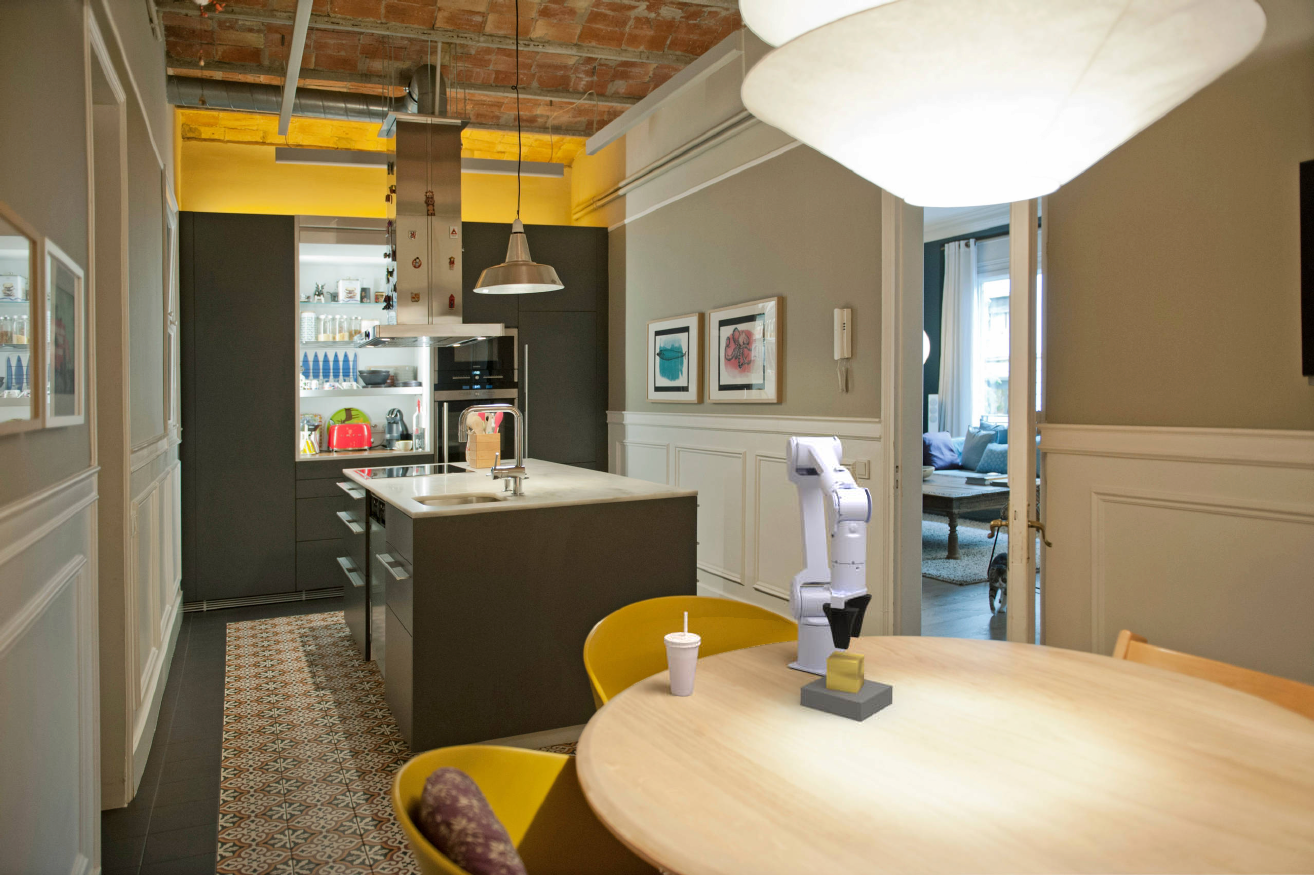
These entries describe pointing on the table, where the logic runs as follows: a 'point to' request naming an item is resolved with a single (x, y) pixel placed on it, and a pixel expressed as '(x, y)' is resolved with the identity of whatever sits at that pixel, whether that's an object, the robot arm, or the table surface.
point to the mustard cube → (845, 672)
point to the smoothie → (682, 660)
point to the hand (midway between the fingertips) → (847, 642)
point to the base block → (847, 699)
